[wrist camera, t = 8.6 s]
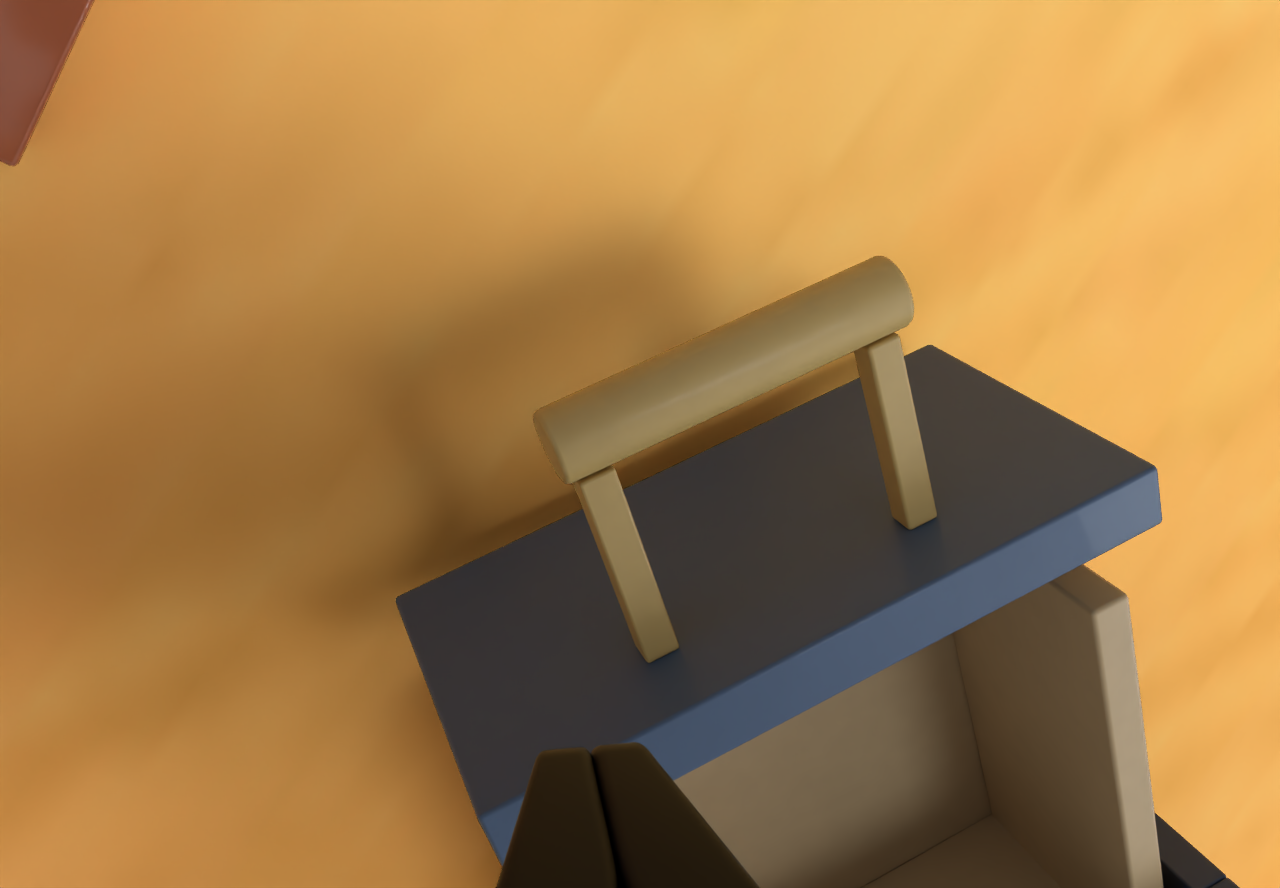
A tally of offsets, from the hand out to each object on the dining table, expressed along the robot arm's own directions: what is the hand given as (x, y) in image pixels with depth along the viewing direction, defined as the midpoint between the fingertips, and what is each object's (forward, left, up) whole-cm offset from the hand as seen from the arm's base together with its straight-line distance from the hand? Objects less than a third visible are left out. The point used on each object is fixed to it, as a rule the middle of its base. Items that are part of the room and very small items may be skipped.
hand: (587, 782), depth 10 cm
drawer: (-8, -7, -13) cm, 17 cm away
